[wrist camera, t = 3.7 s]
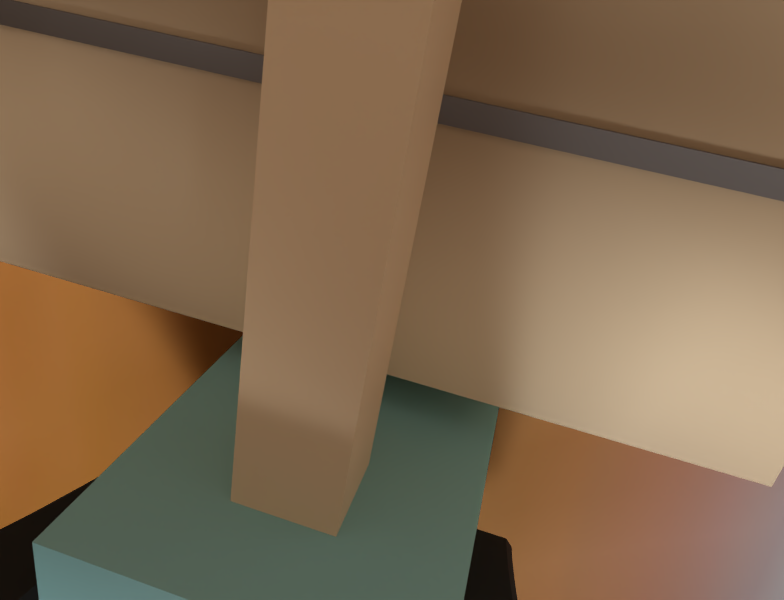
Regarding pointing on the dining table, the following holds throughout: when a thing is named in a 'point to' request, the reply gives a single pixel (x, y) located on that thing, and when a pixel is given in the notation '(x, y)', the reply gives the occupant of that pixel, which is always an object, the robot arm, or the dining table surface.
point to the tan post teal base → (306, 360)
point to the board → (454, 199)
